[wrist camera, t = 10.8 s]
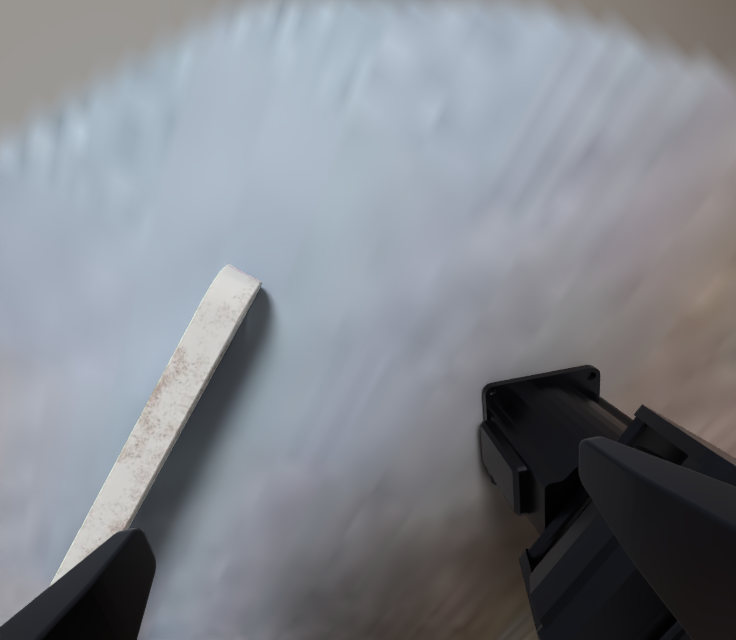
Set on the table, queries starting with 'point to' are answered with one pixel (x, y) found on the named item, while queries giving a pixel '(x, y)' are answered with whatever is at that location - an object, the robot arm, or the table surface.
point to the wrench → (166, 411)
